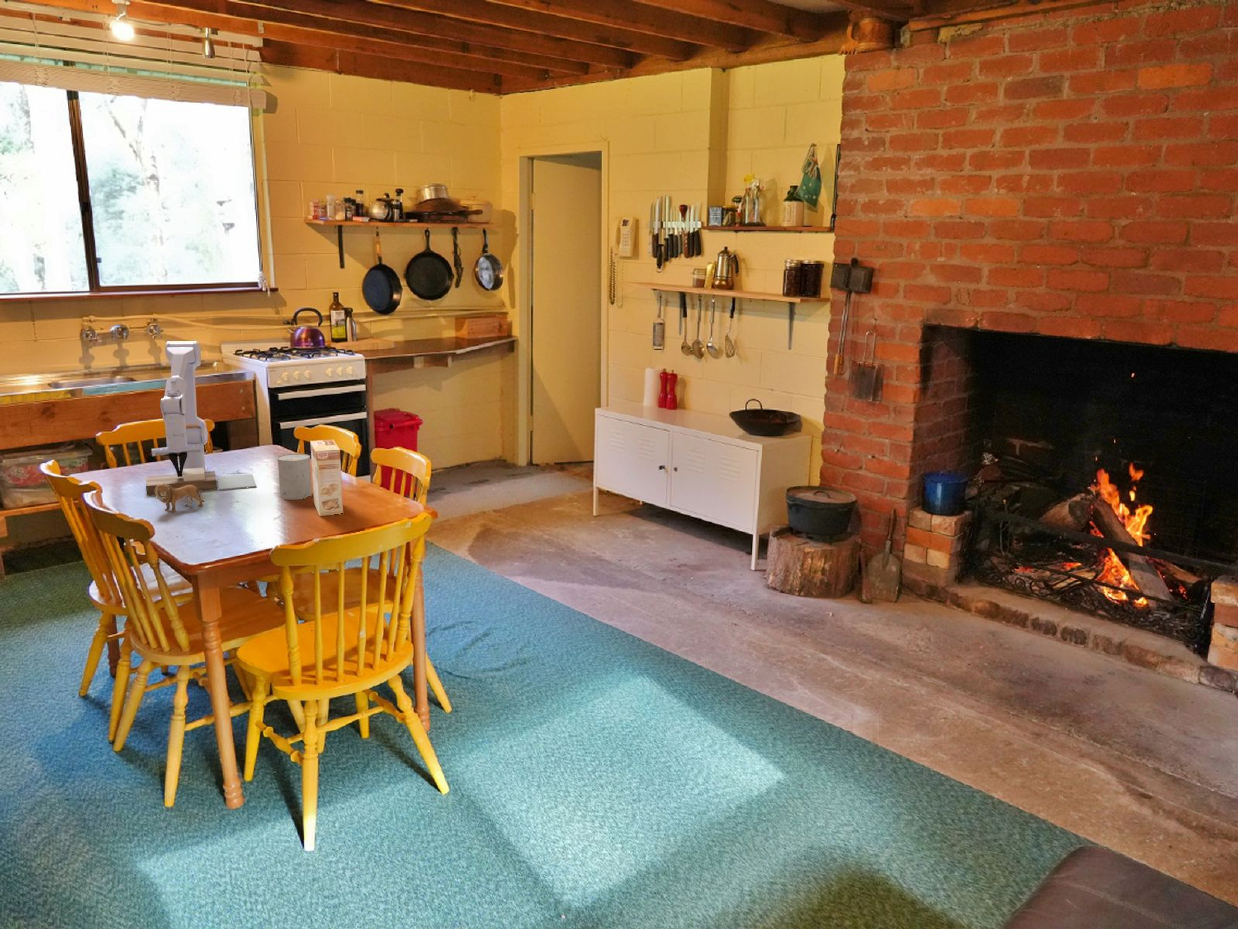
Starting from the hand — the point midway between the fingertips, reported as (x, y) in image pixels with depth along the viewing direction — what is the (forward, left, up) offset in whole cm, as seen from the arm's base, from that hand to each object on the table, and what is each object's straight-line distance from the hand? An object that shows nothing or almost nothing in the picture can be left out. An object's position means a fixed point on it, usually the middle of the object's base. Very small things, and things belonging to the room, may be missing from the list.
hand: (180, 476), depth 295 cm
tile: (0, +4, -1) cm, 4 cm away
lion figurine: (+25, -1, -4) cm, 26 cm away
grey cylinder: (+22, +32, -4) cm, 39 cm away
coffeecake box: (+40, +39, -4) cm, 56 cm away
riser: (0, 0, -4) cm, 4 cm away
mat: (0, +16, -4) cm, 17 cm away
